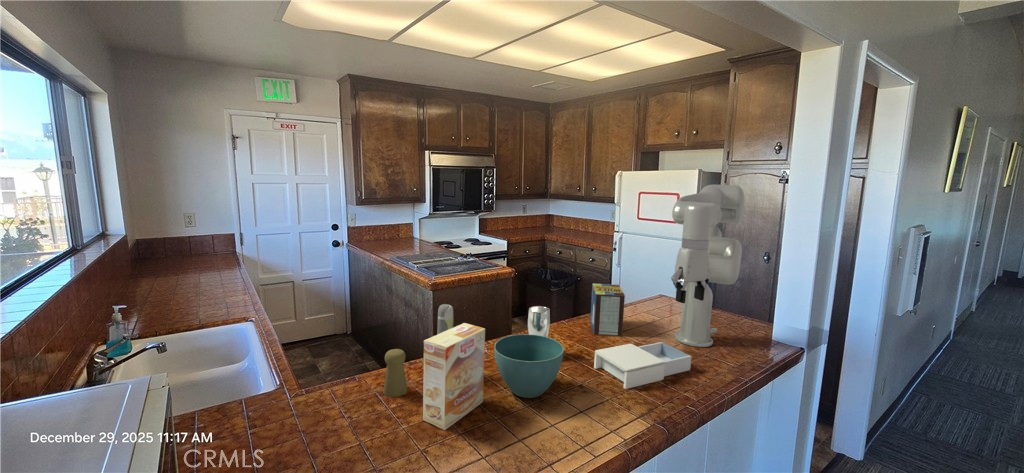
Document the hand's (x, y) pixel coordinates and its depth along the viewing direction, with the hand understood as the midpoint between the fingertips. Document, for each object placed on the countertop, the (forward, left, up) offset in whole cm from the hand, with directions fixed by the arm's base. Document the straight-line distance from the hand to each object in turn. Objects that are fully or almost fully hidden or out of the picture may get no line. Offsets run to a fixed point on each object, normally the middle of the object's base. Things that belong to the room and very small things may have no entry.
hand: (689, 300), depth 133 cm
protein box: (+5, -33, -20) cm, 39 cm away
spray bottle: (+72, -21, -20) cm, 78 cm away
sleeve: (+23, 0, -20) cm, 30 cm away
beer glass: (+41, -22, -20) cm, 51 cm away
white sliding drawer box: (+16, 0, -20) cm, 25 cm away
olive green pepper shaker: (+87, -16, -20) cm, 91 cm away
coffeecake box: (+76, -1, -20) cm, 79 cm away
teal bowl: (+55, -3, -20) cm, 59 cm away
